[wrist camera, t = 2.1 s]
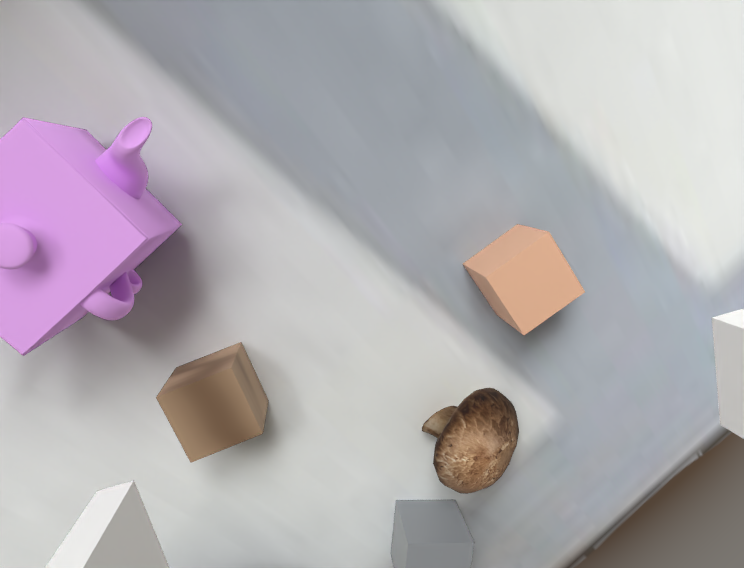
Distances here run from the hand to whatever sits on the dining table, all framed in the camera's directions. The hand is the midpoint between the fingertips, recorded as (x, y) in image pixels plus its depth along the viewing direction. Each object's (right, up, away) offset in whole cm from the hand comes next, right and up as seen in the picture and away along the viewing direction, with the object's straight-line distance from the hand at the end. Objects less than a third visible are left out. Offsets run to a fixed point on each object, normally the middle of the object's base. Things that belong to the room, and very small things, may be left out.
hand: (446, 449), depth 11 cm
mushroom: (+6, -7, +29) cm, 30 cm away
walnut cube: (-13, -4, +26) cm, 29 cm away
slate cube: (+3, -17, +30) cm, 35 cm away
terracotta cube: (+9, +5, +26) cm, 28 cm away
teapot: (-21, +8, +22) cm, 31 cm away
